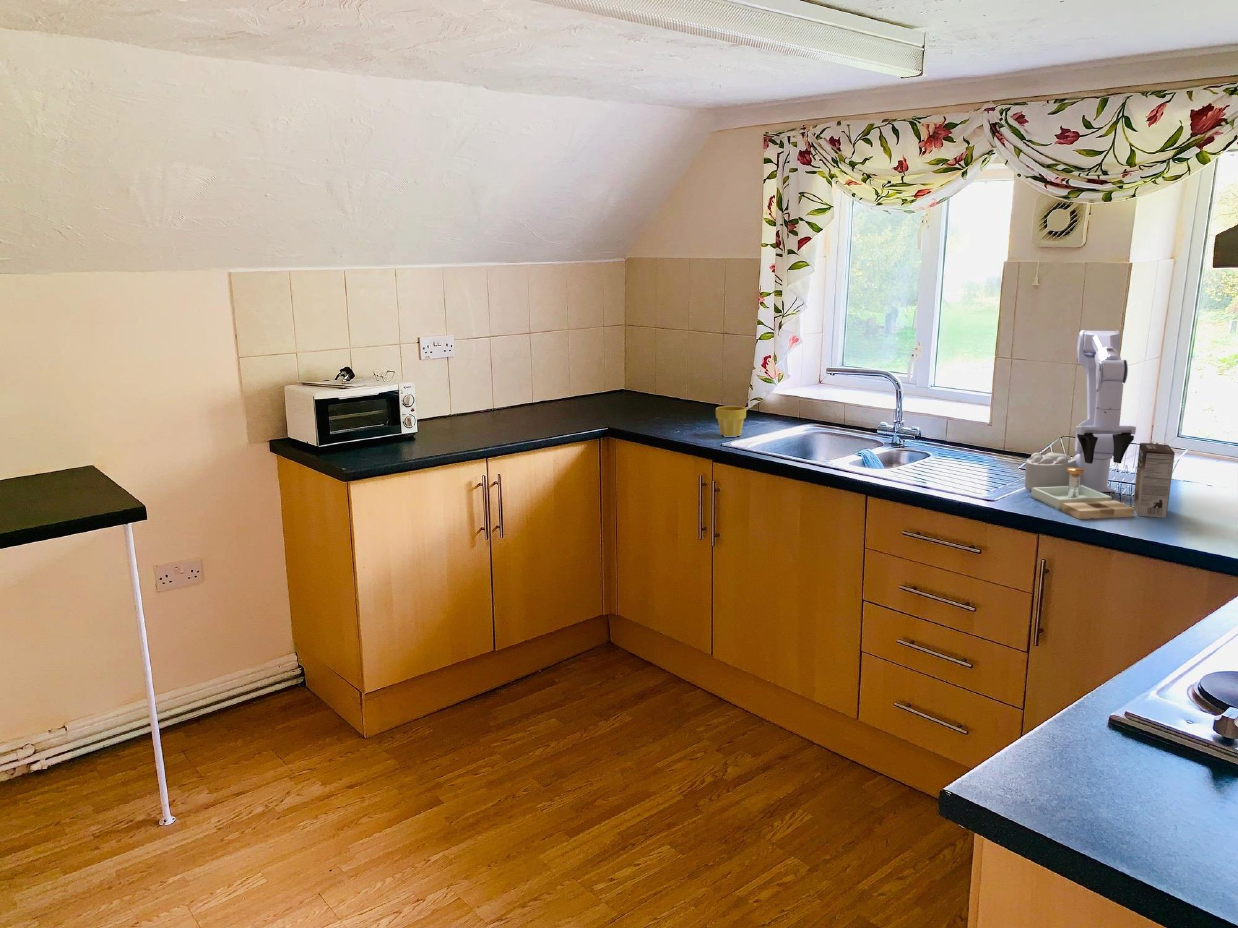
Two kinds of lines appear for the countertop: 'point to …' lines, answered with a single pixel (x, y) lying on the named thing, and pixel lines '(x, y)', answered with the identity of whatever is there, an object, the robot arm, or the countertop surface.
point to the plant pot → (730, 419)
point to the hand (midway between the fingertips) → (1102, 462)
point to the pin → (1074, 481)
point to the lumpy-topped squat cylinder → (1048, 470)
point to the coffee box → (1153, 480)
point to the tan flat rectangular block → (1098, 509)
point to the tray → (1066, 495)
